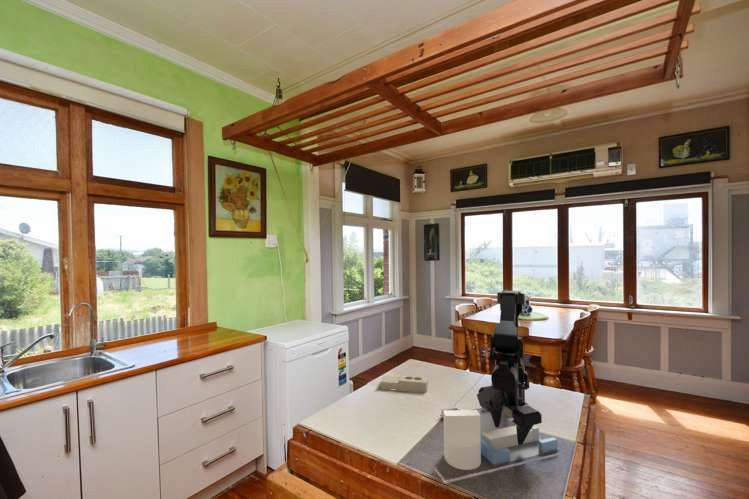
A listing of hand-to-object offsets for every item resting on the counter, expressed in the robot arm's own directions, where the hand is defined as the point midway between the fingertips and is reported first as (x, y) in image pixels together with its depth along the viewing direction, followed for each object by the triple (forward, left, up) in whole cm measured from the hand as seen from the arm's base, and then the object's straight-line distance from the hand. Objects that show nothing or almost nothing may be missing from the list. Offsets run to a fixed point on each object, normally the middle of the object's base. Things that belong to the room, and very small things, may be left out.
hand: (508, 435), depth 90 cm
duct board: (0, -6, -2) cm, 7 cm away
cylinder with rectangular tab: (+16, +2, -3) cm, 16 cm away
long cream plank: (0, 0, -2) cm, 2 cm away
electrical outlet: (+12, -46, -3) cm, 48 cm away
